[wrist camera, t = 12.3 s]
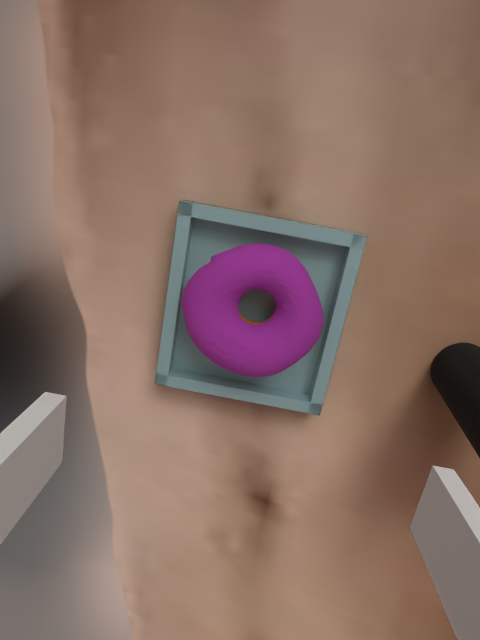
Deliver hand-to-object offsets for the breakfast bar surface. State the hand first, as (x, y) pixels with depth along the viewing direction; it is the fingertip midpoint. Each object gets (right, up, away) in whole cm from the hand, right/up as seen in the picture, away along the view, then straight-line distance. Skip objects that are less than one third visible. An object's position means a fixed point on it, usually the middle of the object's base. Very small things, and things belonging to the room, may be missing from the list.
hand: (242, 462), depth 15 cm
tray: (+1, +6, +21) cm, 22 cm away
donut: (+1, +6, +20) cm, 21 cm away
